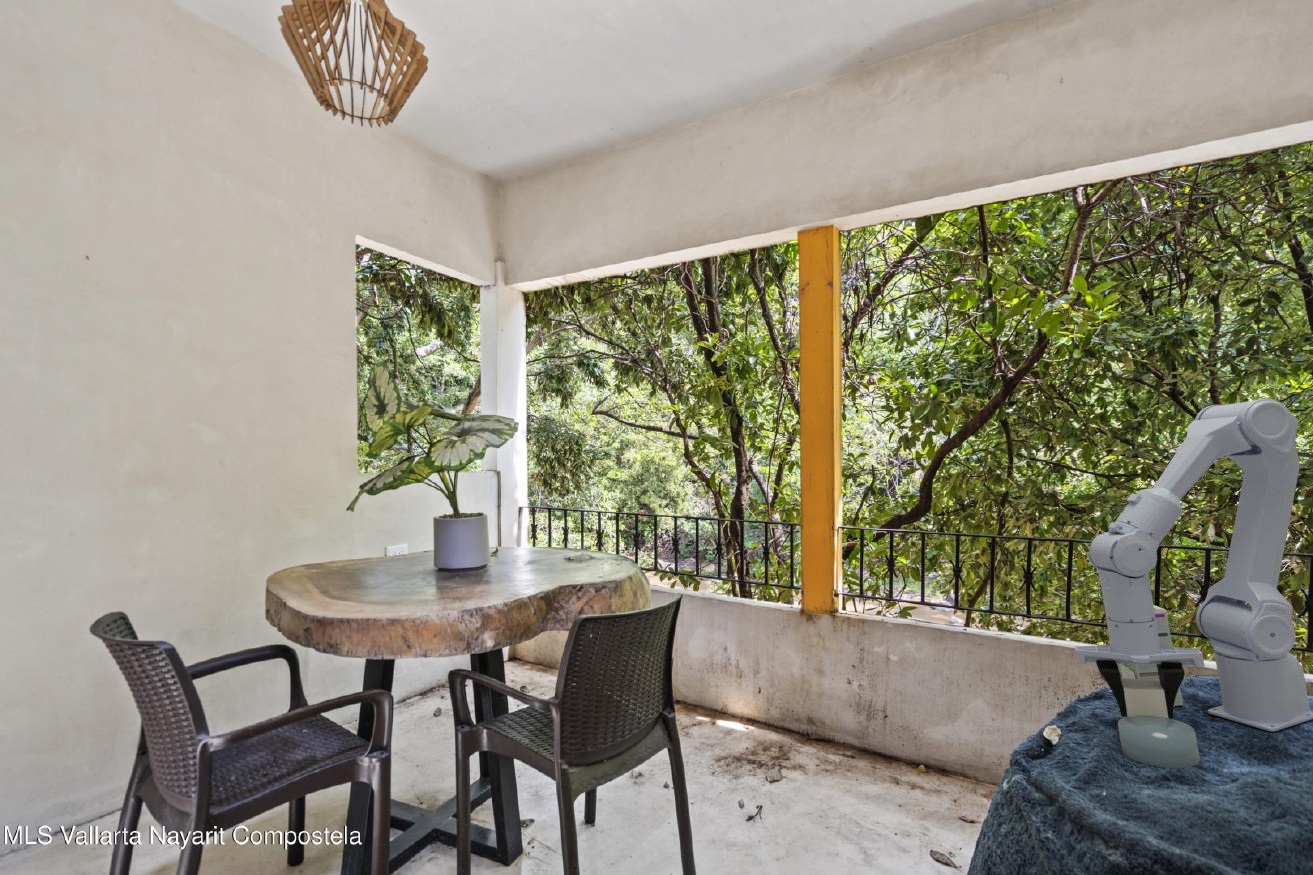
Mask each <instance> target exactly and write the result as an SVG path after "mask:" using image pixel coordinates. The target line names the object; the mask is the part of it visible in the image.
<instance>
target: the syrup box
mask: <svg viewBox="0 0 1313 875" xmlns="http://www.w3.org/2000/svg"><path fill="white" fill-rule="evenodd" d="M1153 606H1154V613H1155V618H1156V624H1157V631H1158V637H1159V643H1160V646H1167V647H1174V645H1173V641H1172V640H1173V639H1172V636H1171V629H1170V625H1169V618H1168V613H1167V610H1166V609H1164V608H1162V607H1160V606H1157V605H1154V604H1153ZM1118 668H1119V671H1120V675H1121V678H1132V679H1157V680H1158V681H1159V683H1160V680H1159V675H1158V670H1157V665H1156V664H1136V663H1118ZM1181 690H1182V689H1181V686H1180V687H1179V689H1178V692H1177V695H1176V698H1175V703H1174V705H1183V706H1184V703H1183V698H1182V691H1181Z"/></svg>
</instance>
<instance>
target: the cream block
mask: <svg viewBox="0 0 1313 875" xmlns="http://www.w3.org/2000/svg"><path fill="white" fill-rule="evenodd" d="M1121 684H1122V691H1123V697H1124V701H1125V705H1126V709H1127V717H1129V716H1137V715H1149V716H1159V717H1166V718H1168V712H1167V706H1166V700H1165V694H1164V690H1163V688H1162V686H1161V684H1160V683H1159V681H1158V680H1157V679H1132V678H1121Z"/></svg>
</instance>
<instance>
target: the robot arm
mask: <svg viewBox="0 0 1313 875" xmlns="http://www.w3.org/2000/svg"><path fill="white" fill-rule="evenodd" d="M1298 426H1299V419H1298V418H1297V417H1296V416H1295V415H1294V414H1293V413H1292V412H1291V411H1290V410H1289V409H1288V408H1287V407H1286V405H1285V404H1283V403H1281V402H1280V401H1278V400H1276V399H1272V398H1260V399H1255V400H1252V401H1244V402H1243V401H1242V402H1236V403H1227V404H1212V405H1209V406H1206V407H1204V408H1203V409H1201V410H1200V411H1199V412H1198V413H1197V415H1196V416H1195V419H1194V420H1193V421H1191V423H1189V424H1188V425H1187V428H1186V437H1185V439H1184V441H1183V442H1182V444H1181V445H1180V446H1179V448H1178V449H1177V451H1176V452H1175V454H1174V456H1172V459H1171V460H1170V462H1169V463H1168V464H1167V466H1166V467H1165V469H1164V470H1163V472H1162V473H1161V475H1160V476H1159V479H1157V481H1156V482H1155V484H1154V485H1153V487H1152V488H1146V489H1140V490H1138V491H1137V493H1131V494H1130V495H1129V496H1128V498H1127V499H1126V501H1127V502H1128V504H1127V505H1126V507H1125V508H1124V509H1123V511H1122V512H1121V513H1120V515H1119V516H1118V517H1117V518H1116V520H1115V521H1114V522H1110V524H1109V525H1108V526H1107V528H1108V531H1107V532H1103V533H1100V534H1097V536H1096V537H1095V538H1094V539H1092V541H1091V544H1090V546H1089V551H1087V552H1086V557H1087V560H1088V561H1089V563H1090V564H1091V565H1092V566H1093V567H1094V568H1095V569H1096V571H1097V572H1098V573H1097V574H1098V579H1099V580H1100V587H1101V594H1102V600H1103V607H1104V612H1105V619H1106V623H1107V624H1106V625H1107V630H1108V637H1109V644H1099V645H1079V646H1078V645H1074V650H1075V658H1076V662H1077V664H1087V663H1096V666H1097V670H1098V671H1099V673H1100V674H1101V676H1102V678H1103V679H1104V680H1105V682H1106V684H1107V685H1108V687H1109V688H1110V690H1111V692H1112V694H1113V696H1114V698H1115V701H1116V702H1117V706H1118V709H1119V713H1120V716H1121V717H1122V718H1125V717H1127V709H1126V705H1125V701H1124V697H1123V691H1122V684H1121V674H1120V668H1119V663H1136V664H1156V665H1157V670H1158V675H1159V680H1160V684H1161V686H1162V688H1163V690H1164V694H1165V700H1166V706H1167V712H1168V718H1170V719H1174V708H1175V707H1174V703H1175V698H1176V695H1177V692H1178V689H1179V687H1180V688H1181V685H1182V683H1183V681H1184V679H1185V674H1186V673H1185V670H1184V668H1183V666H1193V667H1196V668H1205V662H1204V661H1205V660H1204V654H1203V652H1202V651H1201V650H1200V649H1199V648H1188V647H1187V648H1186V647H1175V646H1173V647H1167V646H1160V643H1159V637H1158V631H1157V624H1156V618H1155V613H1154V606H1153V605H1154V601H1153V596H1152V595H1153V594H1152V588H1151V581H1150V574H1149V572H1150V571H1152V569H1153V570H1154V568H1156V565H1157V561H1158V554H1157V553H1158V552H1157V551H1158V549H1159V547H1160V546H1159V544H1160V543H1161V542H1162V540H1163V539H1164V538H1165V537H1166V535H1167V534H1168V533H1169V532H1170V530H1171V528H1172V527H1174V525H1175V524H1176V522H1177V521H1178V520H1179V518H1180V517H1181V516H1182V515H1183V509H1182V508H1183V507H1182V505H1181V499H1182V498H1183V497H1185V495H1186V494H1187V493H1188V492H1189V491H1190V489H1192V487H1193V486H1194V485H1195V484H1196V483H1197V482H1198V480H1200V478H1202V476H1203V475H1204V474H1205V473H1206V472H1207V471H1208V470H1209V468H1210V467H1211V466H1212V465H1213V464H1214V463H1215V462H1216V460H1219V459H1220V458H1223V457H1226V458H1227V459H1230V460H1231V461H1233V462H1234V463H1235V464H1236V465H1237V466H1238V467H1239V468H1240V469H1241V470H1242V471H1243V478H1242V483H1241V488H1240V493H1239V498H1238V503H1237V510H1236V513H1235V519H1234V525H1233V530H1232V536H1231V541H1230V545H1229V551H1228V556H1227V561H1226V567H1225V571H1224V572H1225V573H1224V577H1223V578H1221V580H1218V581H1217V582H1216V583H1214V584H1213V585H1212V586H1210V587H1209V588H1208V589H1207V594H1206V597H1205V600H1204V601H1203V602H1202V603H1201V605H1200V606H1199V607H1198V609H1197V611H1196V615H1195V620H1196V626H1197V627H1198V630H1199V631H1200V633H1201V634H1202V635H1204V637H1206V638H1207V639H1209V644H1210V647H1211V648H1213V652H1214V658H1215V664H1216V669H1217V670H1216V671H1217V676H1218V684H1219V689H1220V694H1221V701H1222V704H1221V705H1219V706H1216V707H1212V708H1210V709H1207V713H1208V714H1210V715H1213V716H1217V717H1221V718H1223V719H1227V720H1229V721H1234V722H1237V723H1240V724H1243V725H1247V726H1251V727H1254V728H1257V729H1261V730H1264V731H1267V732H1278V731H1281V730H1283V729H1287V728H1289V727H1292V726H1296V725H1299V724H1302V723H1305V722H1309V721H1310V720H1313V711H1311V707H1310V702H1309V695H1308V690H1307V683H1306V678H1305V673H1304V669H1303V667H1302V665H1301V663H1300V662H1299V660H1298V659H1297V658H1296V657H1295V656H1294V655H1293V654H1292V653H1290V651H1291V650H1292V648H1293V647H1294V645H1295V643H1296V630H1295V626H1294V624H1293V618H1292V617H1293V613H1294V612H1293V611H1294V607H1293V606H1292V604H1291V603H1290V602H1289V601H1288V600H1287V599H1286V598H1285V597H1284V596H1283V594H1282V593H1281V592H1280V591H1279V590H1278V585H1279V577H1280V573H1281V568H1282V562H1283V556H1284V551H1285V545H1286V542H1287V541H1286V540H1287V536H1288V530H1289V527H1290V526H1289V524H1290V520H1291V514H1292V509H1293V505H1294V504H1293V503H1294V498H1295V493H1296V487H1297V482H1298V477H1299V473H1300V472H1299V471H1300V459H1299V453H1298V451H1297V450H1298V449H1297V446H1296V438H1297V432H1298ZM1246 603H1248V604H1249V605H1247V604H1246Z"/></svg>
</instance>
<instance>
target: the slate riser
mask: <svg viewBox="0 0 1313 875" xmlns="http://www.w3.org/2000/svg"><path fill="white" fill-rule="evenodd" d="M1117 728H1118V733H1119V741H1120V746H1121V751H1122V754H1124V756H1126V757H1128V758H1129V759H1132V760H1134V761H1136V762H1138V763H1141V764H1145V765H1148V766H1153V767H1158V768H1168V769H1184V768H1185V769H1186V768H1190V767H1194V766H1196V765H1197V764H1199V763H1200V761H1201V760H1200V759H1201V758H1200V753H1199V747H1198V740H1197V735H1196V731H1195V730H1196V729H1195V728H1193V727H1192V726H1191V725H1190V724H1188V723H1186V722H1183V721H1180V720H1177V719H1174V718H1173V719H1170V718H1166V717H1159V716H1149V715H1137V716H1129V717H1122V718H1121V719H1119V720H1118V721H1117Z"/></svg>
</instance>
